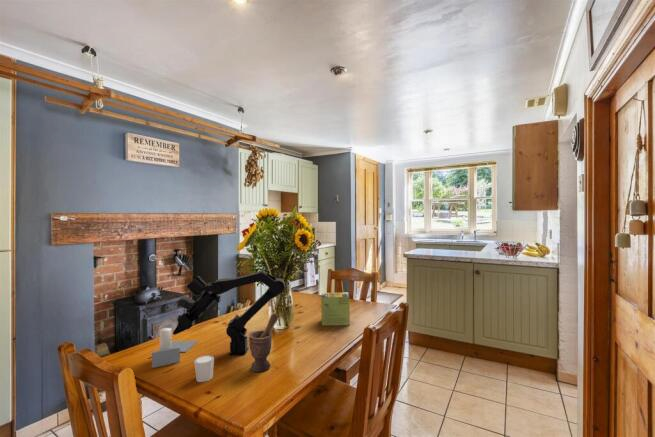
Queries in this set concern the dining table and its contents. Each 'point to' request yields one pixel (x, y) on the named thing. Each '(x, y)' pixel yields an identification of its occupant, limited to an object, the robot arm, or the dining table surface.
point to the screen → (165, 357)
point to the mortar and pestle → (262, 346)
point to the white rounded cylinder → (165, 338)
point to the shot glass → (204, 368)
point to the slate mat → (183, 345)
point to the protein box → (335, 308)
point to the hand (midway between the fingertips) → (177, 330)
